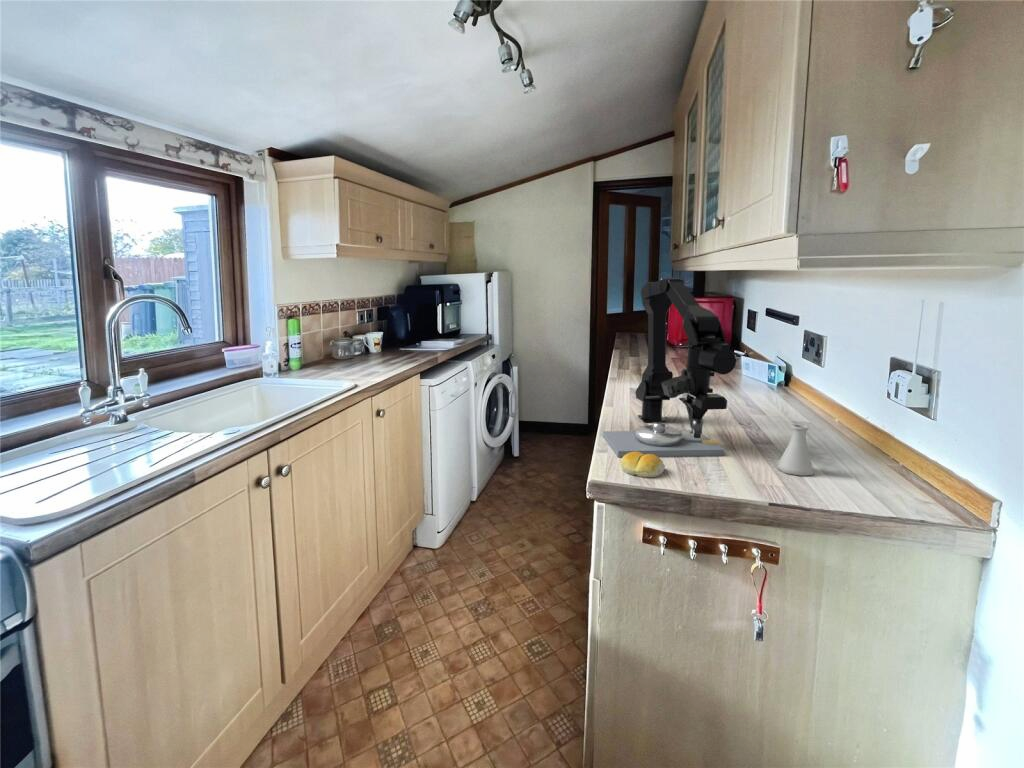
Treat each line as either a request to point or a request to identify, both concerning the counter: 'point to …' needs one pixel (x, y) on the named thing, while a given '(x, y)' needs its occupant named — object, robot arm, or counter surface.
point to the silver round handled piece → (667, 433)
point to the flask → (796, 454)
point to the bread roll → (642, 464)
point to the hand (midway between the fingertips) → (693, 427)
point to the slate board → (688, 447)
